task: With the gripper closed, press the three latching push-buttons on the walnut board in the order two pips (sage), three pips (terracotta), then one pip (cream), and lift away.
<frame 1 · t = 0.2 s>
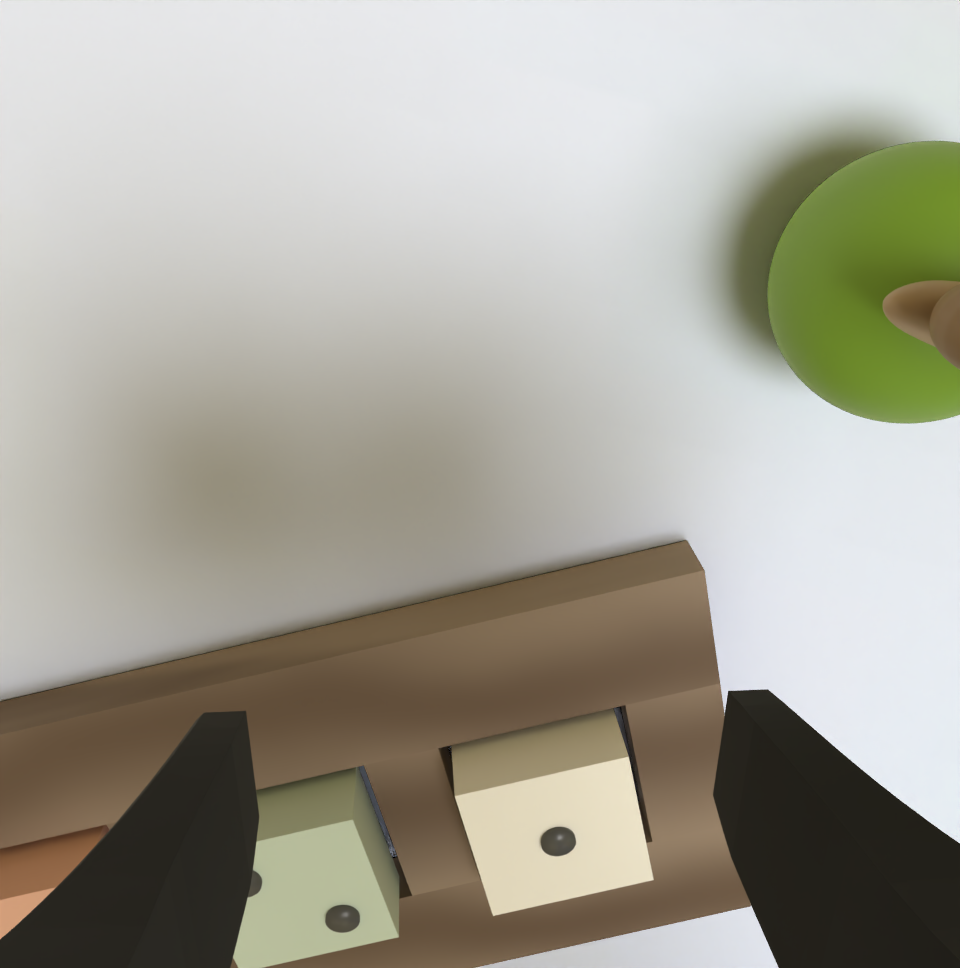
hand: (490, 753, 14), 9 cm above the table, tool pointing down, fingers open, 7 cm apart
button board: (305, 812, 26), on the table
button 3 terracotta: (48, 926, 25), point 2 cm above the table, slide at 0.0 cm
button 2 sage: (298, 870, 24), point 2 cm above the table, slide at 0.0 cm
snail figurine: (865, 262, 21), on the table
button 1 cream: (552, 812, 24), point 2 cm above the table, slide at 0.0 cm
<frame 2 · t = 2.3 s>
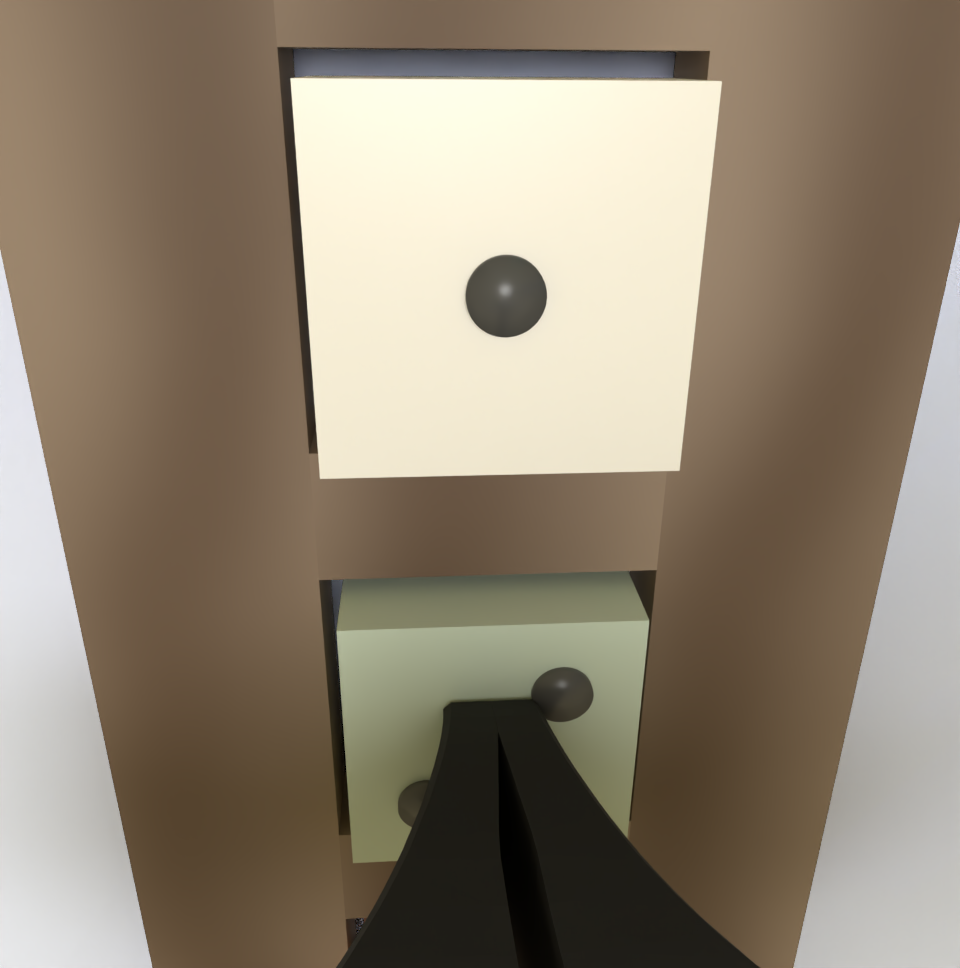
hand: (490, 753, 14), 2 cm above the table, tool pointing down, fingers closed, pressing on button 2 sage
button board: (481, 655, 16), on the table
button 2 sage: (487, 708, 14), point 1 cm above the table, slide at 0.6 cm, touching gripper
button 1 cream: (498, 277, 11), point 2 cm above the table, slide at 0.0 cm
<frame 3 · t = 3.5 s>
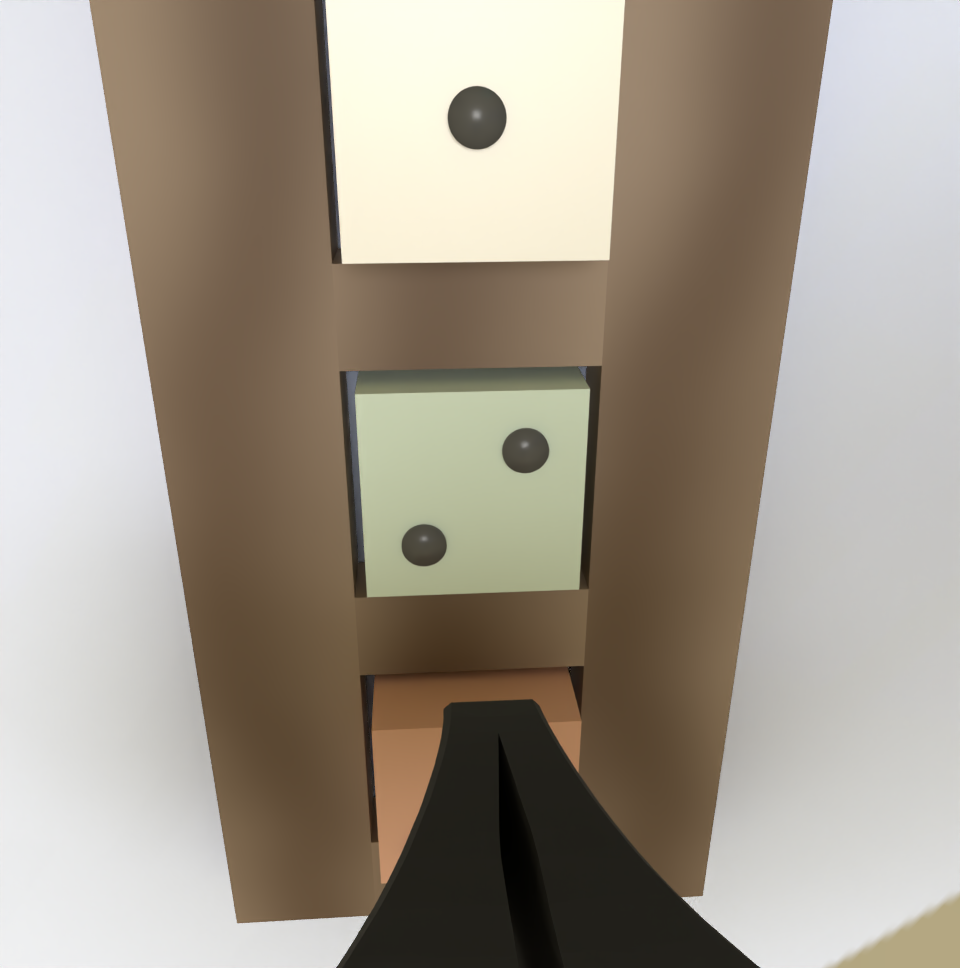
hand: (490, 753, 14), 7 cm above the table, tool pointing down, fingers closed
button board: (467, 458, 20), on the table
button 3 terracotta: (474, 775, 21), point 2 cm above the table, slide at 0.0 cm
button 2 sage: (470, 477, 19), point 1 cm above the table, slide at 1.0 cm
button 1 cream: (472, 114, 15), point 2 cm above the table, slide at 0.0 cm
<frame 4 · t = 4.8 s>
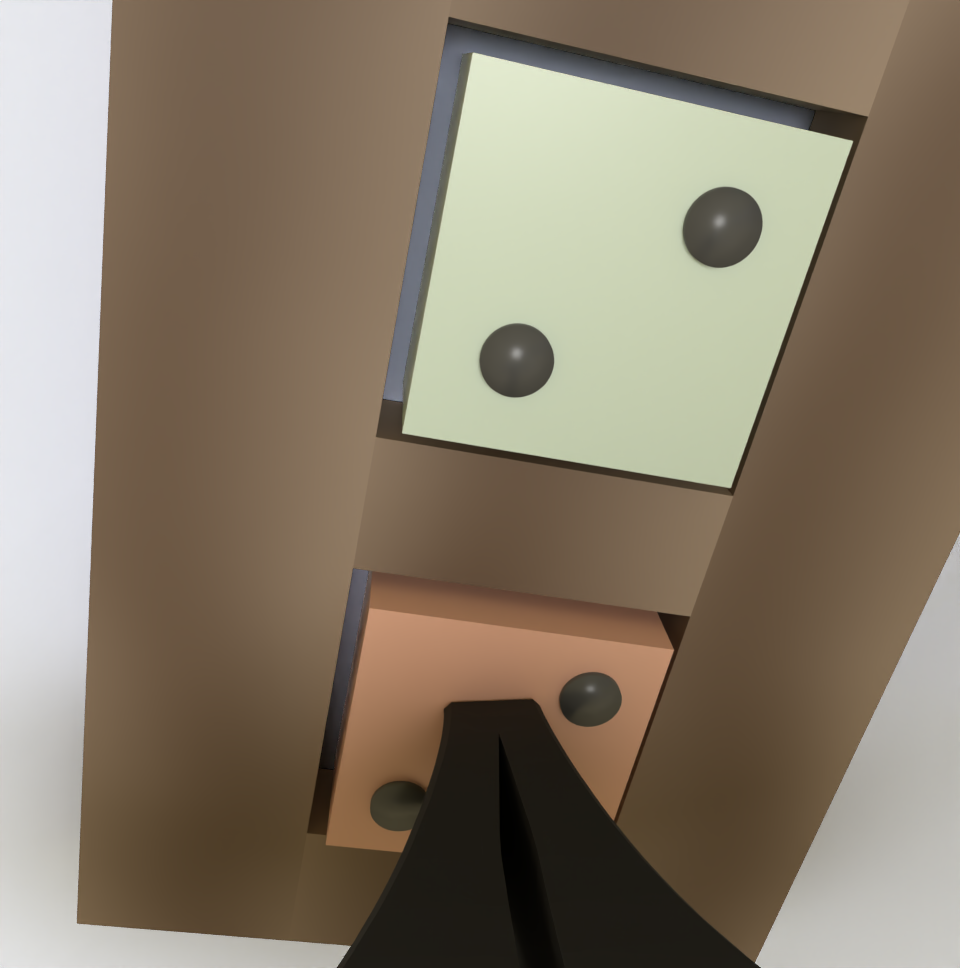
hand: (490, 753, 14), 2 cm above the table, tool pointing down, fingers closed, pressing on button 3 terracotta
button board: (586, 261, 13), on the table
button 3 terracotta: (487, 710, 14), point 1 cm above the table, slide at 1.0 cm, touching gripper
button 2 sage: (601, 277, 12), point 1 cm above the table, slide at 1.0 cm
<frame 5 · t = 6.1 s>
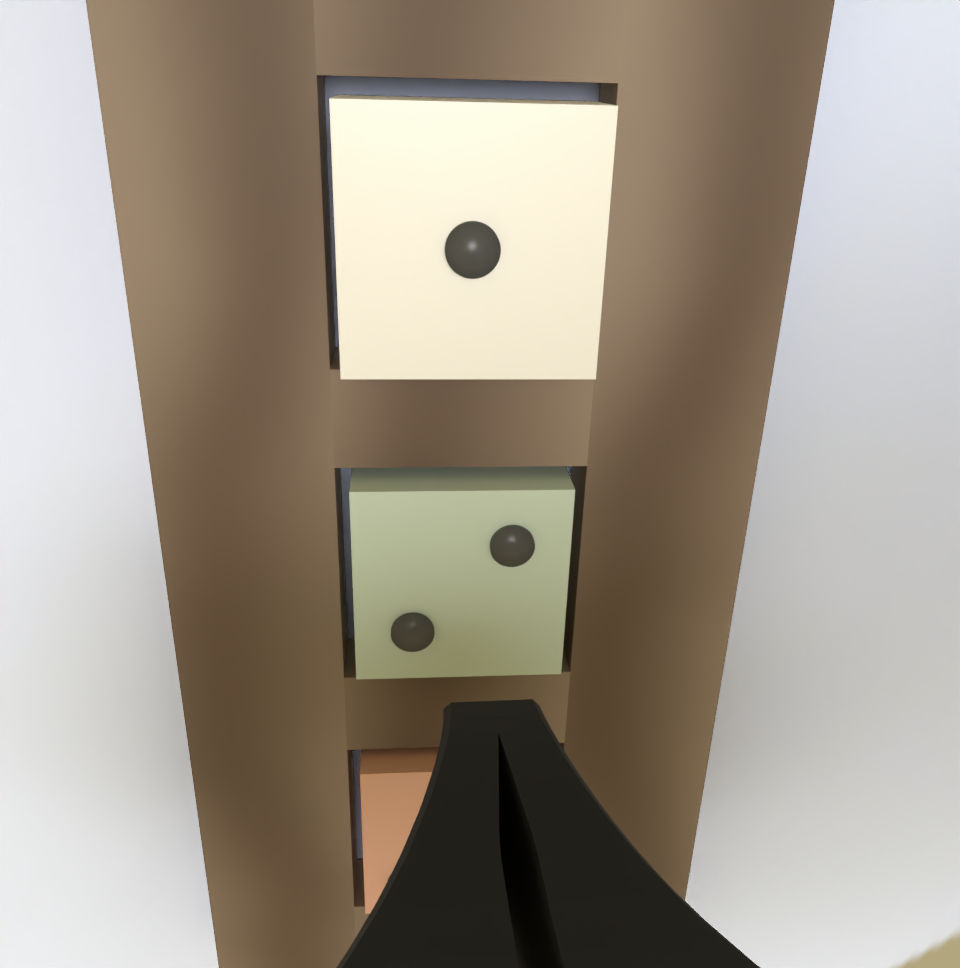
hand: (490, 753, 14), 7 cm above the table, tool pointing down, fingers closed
button board: (456, 542, 20), on the table
button 3 terracotta: (454, 813, 22), point 1 cm above the table, slide at 1.0 cm
button 2 sage: (458, 565, 19), point 1 cm above the table, slide at 1.0 cm
button 1 cream: (468, 239, 16), point 2 cm above the table, slide at 0.0 cm
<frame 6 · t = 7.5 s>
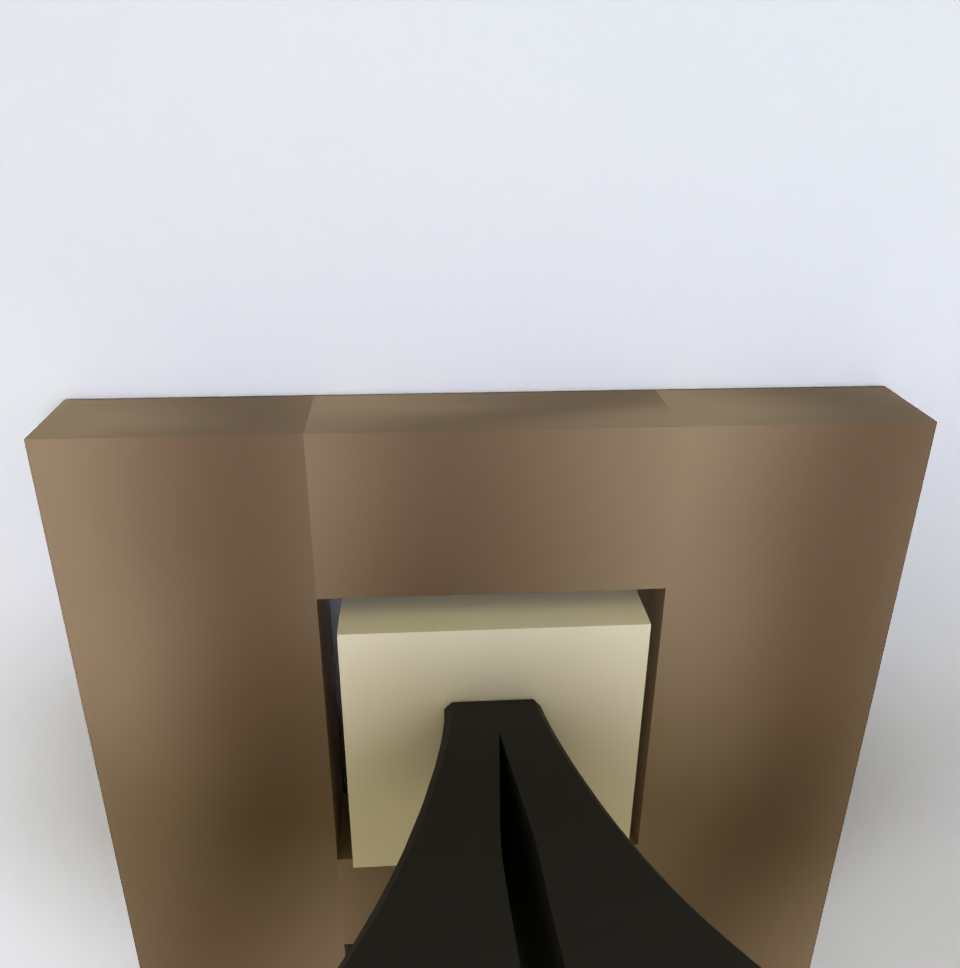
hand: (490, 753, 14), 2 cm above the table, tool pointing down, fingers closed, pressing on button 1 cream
button board: (480, 958, 18), on the table
button 1 cream: (488, 712, 14), point 1 cm above the table, slide at 1.0 cm, touching gripper
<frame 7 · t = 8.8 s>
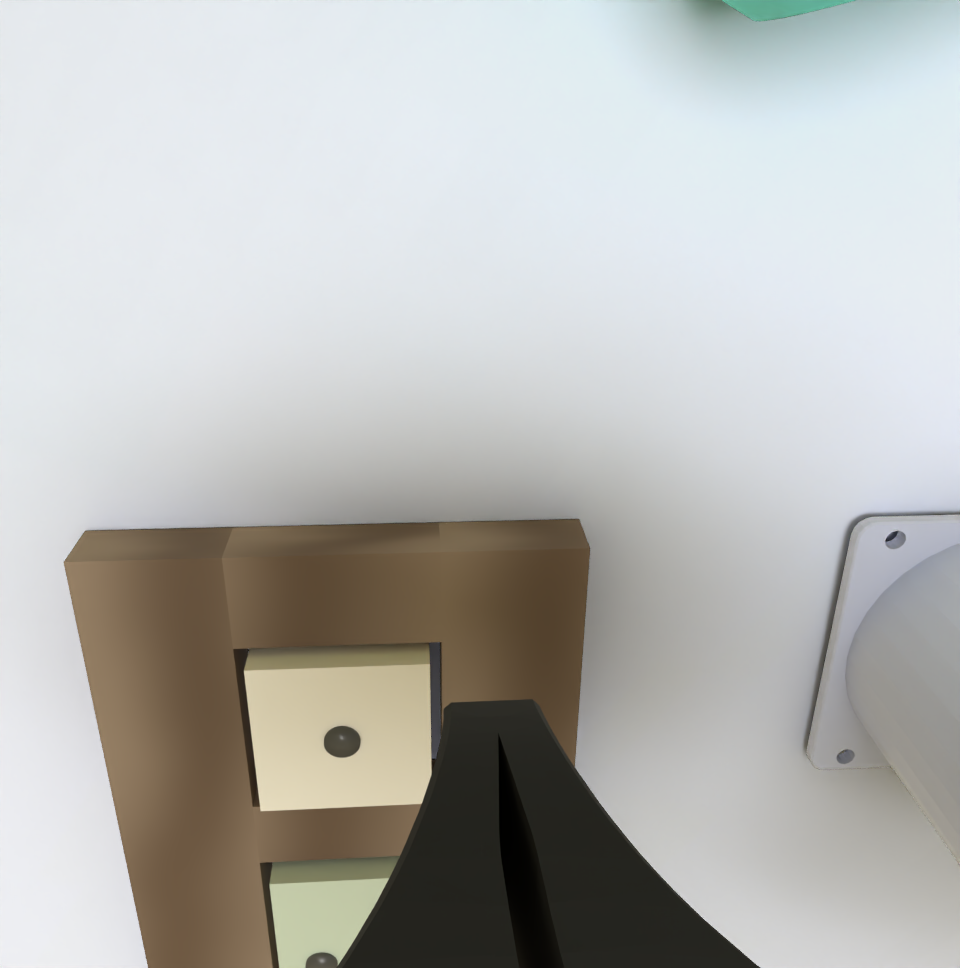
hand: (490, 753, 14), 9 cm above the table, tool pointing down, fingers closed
button board: (358, 879, 27), on the table
button 2 sage: (357, 908, 26), point 1 cm above the table, slide at 1.0 cm
button 1 cream: (344, 715, 23), point 1 cm above the table, slide at 1.0 cm
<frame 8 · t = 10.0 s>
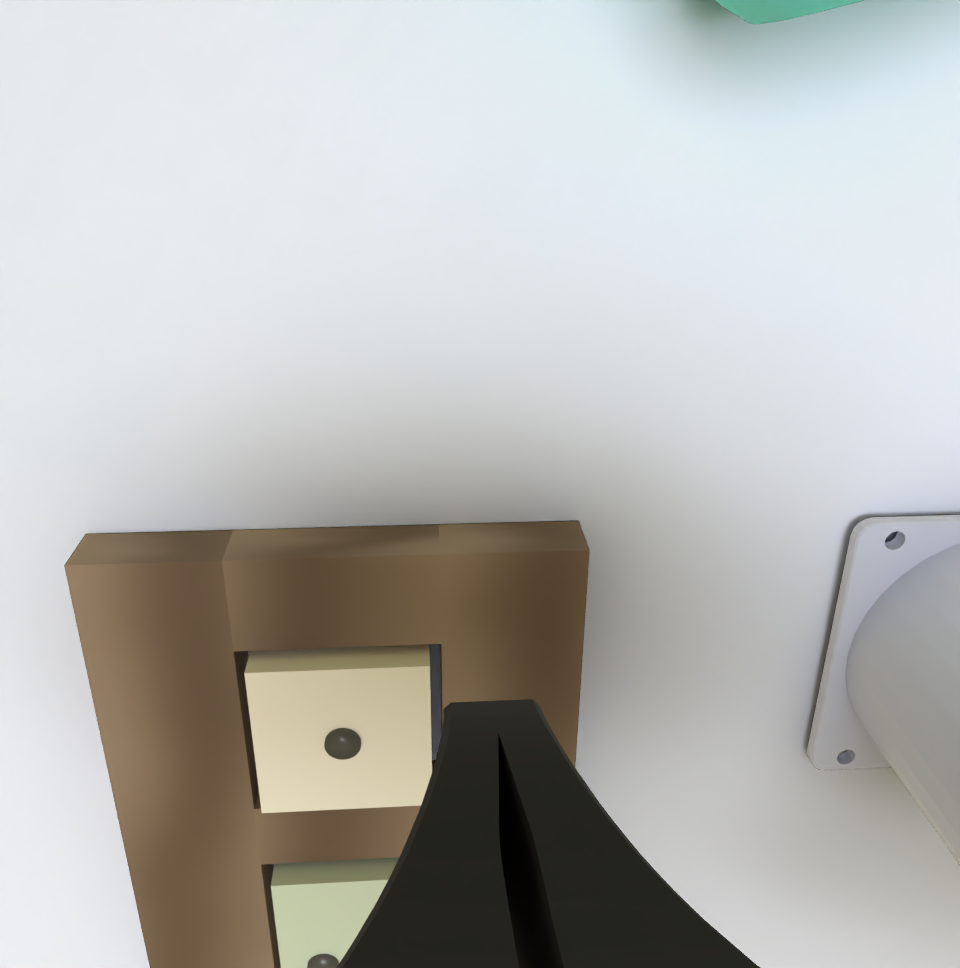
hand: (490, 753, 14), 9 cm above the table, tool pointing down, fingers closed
button board: (360, 881, 27), on the table
button 2 sage: (358, 909, 26), point 1 cm above the table, slide at 1.0 cm
button 1 cream: (345, 717, 23), point 1 cm above the table, slide at 1.0 cm
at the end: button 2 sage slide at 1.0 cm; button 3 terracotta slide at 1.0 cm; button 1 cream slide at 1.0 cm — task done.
